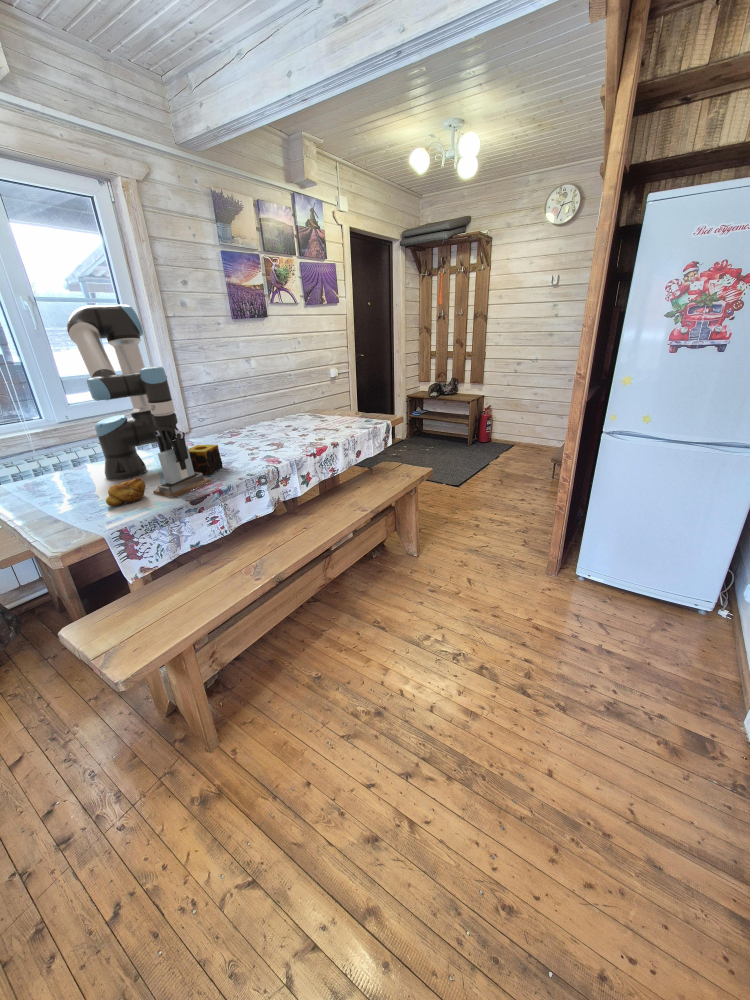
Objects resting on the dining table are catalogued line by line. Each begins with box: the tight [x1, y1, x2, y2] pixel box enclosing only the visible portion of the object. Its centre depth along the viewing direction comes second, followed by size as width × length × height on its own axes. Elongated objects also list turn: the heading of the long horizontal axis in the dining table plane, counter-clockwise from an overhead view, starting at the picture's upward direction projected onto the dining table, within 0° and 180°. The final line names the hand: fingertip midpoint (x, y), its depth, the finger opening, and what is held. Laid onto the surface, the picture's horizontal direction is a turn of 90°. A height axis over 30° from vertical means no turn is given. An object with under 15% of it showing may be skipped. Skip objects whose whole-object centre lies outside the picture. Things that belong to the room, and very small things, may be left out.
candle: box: [188, 444, 224, 476], centre depth 170 cm, size 10×10×10 cm
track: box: [152, 472, 212, 499], centre depth 155 cm, size 12×16×3 cm
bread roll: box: [105, 477, 146, 507], centre depth 145 cm, size 13×10×8 cm
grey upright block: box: [157, 445, 195, 484], centre depth 152 cm, size 4×10×11 cm, turn 154°
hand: (180, 476), depth 154 cm, fingers closed on grey upright block, 3 cm apart
